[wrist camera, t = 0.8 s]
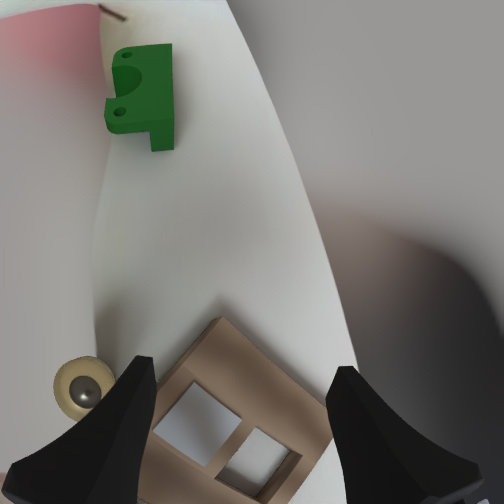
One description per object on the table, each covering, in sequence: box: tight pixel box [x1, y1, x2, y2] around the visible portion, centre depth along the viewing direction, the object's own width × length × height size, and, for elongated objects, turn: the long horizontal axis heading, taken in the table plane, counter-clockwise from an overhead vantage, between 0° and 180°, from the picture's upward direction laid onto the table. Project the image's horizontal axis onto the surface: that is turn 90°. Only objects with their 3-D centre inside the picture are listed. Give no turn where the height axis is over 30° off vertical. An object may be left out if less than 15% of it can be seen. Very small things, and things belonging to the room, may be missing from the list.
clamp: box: [104, 44, 174, 152], centre depth 26 cm, size 12×6×9 cm, turn 5°
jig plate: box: [137, 317, 333, 504], centre depth 21 cm, size 16×16×2 cm
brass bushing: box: [53, 356, 116, 422], centre depth 17 cm, size 4×4×6 cm
